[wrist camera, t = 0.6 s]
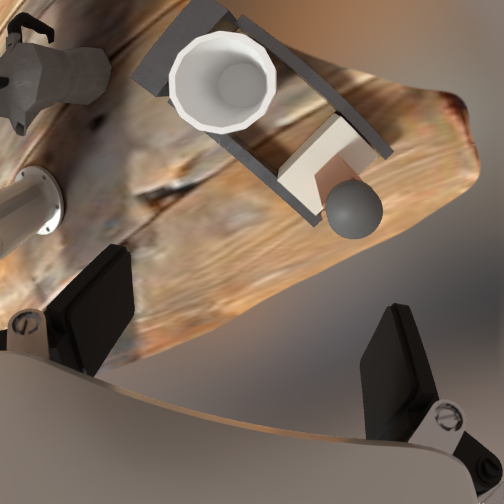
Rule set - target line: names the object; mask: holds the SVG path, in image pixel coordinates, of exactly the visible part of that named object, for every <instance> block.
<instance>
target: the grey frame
mask: <svg viewBox="0 0 504 504" xmlns="http://www.w3.org/2000/svg"><path fill="white" fill-rule="evenodd" d="M237 29H240V30H241V31H243V32H244V33H245V34H247V35H248V36H249V37H251V38H252V39H253V40H255V41H256V42H257V43H259V44H260V45H261V46H263V47H264V48H265V49H266V50H268V51H269V52H270V53H272V54H273V55H274V56H275V57H277V58H278V59H279V60H280V61H281V62H283V63H284V64H285V65H286V66H287V67H289V68H290V69H291V70H292V71H293V72H295V73H296V74H297V75H298V76H299V77H300V78H302V79H303V80H304V81H305V82H306V83H307V84H308V85H309V86H311V87H312V88H313V89H314V90H315V91H316V92H317V93H318V94H319V95H320V96H322V97H323V98H324V99H325V100H326V101H327V102H328V103H329V104H330V105H331V106H332V107H333V108H334V109H335V110H336V111H337V112H338V113H339V114H340V115H341V116H342V117H344V118H345V119H346V120H347V121H348V122H349V123H350V125H351V126H352V127H353V128H354V129H355V130H356V131H357V132H358V133H359V134H360V135H361V136H362V137H363V138H364V139H365V140H366V141H367V142H368V143H369V144H370V145H371V146H372V148H373V149H374V150H375V151H376V152H377V153H378V154H379V155H380V156H381V157H383V158H384V159H385V160H386V159H387V158H388V157H389V156H390V155H391V154H392V153H393V152H394V151H393V150H392V149H391V148H390V146H389V145H388V144H387V143H386V142H385V141H384V140H383V139H382V138H381V136H380V135H379V134H378V133H377V132H376V131H375V130H374V129H373V128H372V127H371V126H370V125H369V123H368V122H367V121H366V120H365V119H364V118H363V117H362V116H361V115H360V114H359V113H358V112H357V111H356V110H355V109H354V108H353V107H352V106H351V105H350V104H349V103H348V102H347V101H346V100H345V99H344V98H343V97H342V96H341V95H340V94H339V93H338V92H337V91H336V90H335V89H333V88H332V87H331V86H330V85H329V84H328V83H327V82H326V81H325V80H324V79H323V78H322V77H320V76H319V75H318V74H317V73H316V72H315V71H314V70H313V69H311V68H310V67H309V66H308V65H307V64H306V63H305V62H303V61H302V60H301V59H300V58H299V57H297V56H296V55H295V54H294V53H293V52H291V51H290V50H289V49H288V48H286V47H285V46H284V45H283V44H281V43H280V42H279V41H278V40H276V39H275V38H274V37H273V36H271V35H270V34H269V33H267V32H266V31H265V30H263V29H262V28H261V27H259V26H258V25H257V24H255V23H254V22H252V21H251V20H249V19H248V18H247V17H245V16H244V15H242V16H241V17H240V18H239V19H238V20H236V19H235V17H234V16H233V15H232V14H231V12H230V11H229V10H228V9H226V8H225V7H223V6H222V5H220V4H218V3H217V2H215V1H214V0H191V1H190V3H189V4H188V5H187V6H186V7H185V8H184V9H183V10H182V11H181V13H180V14H179V15H178V16H177V17H176V18H175V20H174V21H173V22H172V23H171V24H170V25H169V27H168V28H167V29H166V30H165V32H164V33H163V34H162V35H161V37H160V38H159V39H158V40H157V42H156V43H155V44H154V45H153V47H152V48H151V49H150V51H149V52H148V53H147V55H146V56H145V57H144V59H143V60H142V61H141V63H140V64H139V66H138V67H137V68H136V70H135V71H134V73H133V74H132V75H131V77H130V78H131V79H133V80H134V81H135V82H137V83H138V84H139V85H141V86H142V87H143V88H145V89H146V90H147V91H149V92H150V93H151V94H152V95H154V96H155V97H162V96H170V94H169V73H170V71H171V68H172V66H173V64H174V62H175V59H176V57H177V55H178V53H179V52H180V51H182V50H183V49H184V48H185V47H186V46H187V45H188V44H190V43H191V42H192V41H193V40H194V39H195V38H197V37H200V36H204V35H207V34H210V33H214V32H217V31H226V32H233V33H234V32H235V31H236V30H237ZM168 103H169V104H170V105H171V106H173V107H174V108H175V106H174V104H173V102H172V101H171V99H169V100H168ZM175 109H176V108H175ZM204 132H205V133H206V134H208V135H209V136H210V137H211V138H212V139H214V140H215V141H216V142H217V143H218V144H220V145H221V146H222V147H223V148H224V149H226V150H227V151H228V152H229V153H230V154H232V155H233V156H234V157H235V158H236V159H237V160H239V161H240V162H241V163H242V164H243V165H244V166H246V167H247V168H248V169H249V170H250V171H251V172H253V173H254V174H255V175H256V176H257V177H258V178H260V179H261V180H262V181H263V182H264V183H265V184H266V185H268V186H269V187H270V188H271V189H272V190H273V191H274V192H275V193H277V194H278V195H279V196H280V197H281V198H282V199H283V200H284V201H286V202H287V203H288V204H289V205H290V206H291V207H292V208H293V209H294V210H296V211H297V212H298V213H299V214H300V215H301V216H302V217H303V218H304V219H305V220H306V221H308V222H309V223H310V224H311V225H312V226H313V227H315V226H316V225H317V224H318V223H319V222H320V221H321V220H322V216H321V211H320V212H319V213H318V214H317V215H316V216H315V215H314V214H313V213H312V212H311V211H310V210H309V209H308V208H307V207H306V206H305V205H304V204H303V203H301V202H300V201H299V200H298V199H297V198H296V197H295V196H294V195H293V194H292V193H290V192H289V191H288V190H287V189H286V188H285V187H284V186H283V185H282V184H281V183H279V182H278V181H277V178H278V171H276V170H275V169H274V168H273V167H272V166H271V165H270V164H268V163H267V162H266V161H265V160H264V159H263V158H262V157H260V156H259V155H258V154H257V153H256V152H255V151H254V150H252V149H251V148H250V147H249V146H248V145H247V144H245V143H244V142H243V141H242V140H241V139H239V138H238V137H237V136H236V135H235V134H234V133H232V132H230V133H226V134H217V133H212V132H207V131H204Z"/></svg>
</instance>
